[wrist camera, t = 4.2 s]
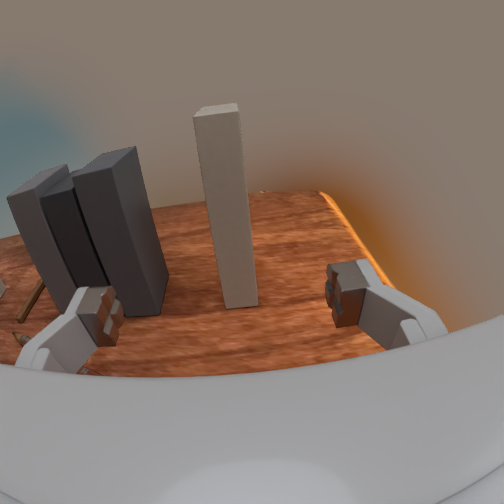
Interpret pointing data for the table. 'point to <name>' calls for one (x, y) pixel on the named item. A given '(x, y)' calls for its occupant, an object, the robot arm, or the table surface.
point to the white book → (227, 201)
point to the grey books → (94, 232)
